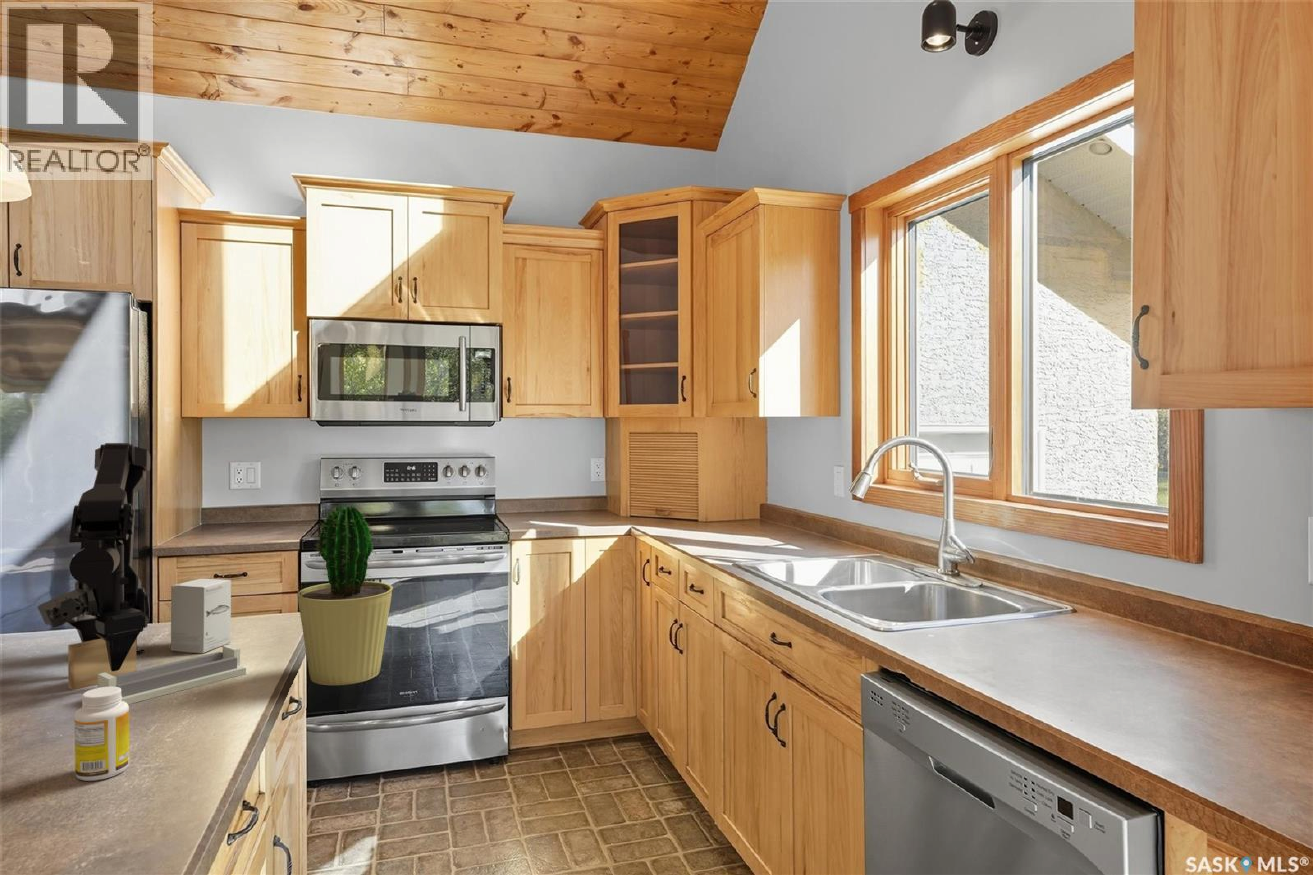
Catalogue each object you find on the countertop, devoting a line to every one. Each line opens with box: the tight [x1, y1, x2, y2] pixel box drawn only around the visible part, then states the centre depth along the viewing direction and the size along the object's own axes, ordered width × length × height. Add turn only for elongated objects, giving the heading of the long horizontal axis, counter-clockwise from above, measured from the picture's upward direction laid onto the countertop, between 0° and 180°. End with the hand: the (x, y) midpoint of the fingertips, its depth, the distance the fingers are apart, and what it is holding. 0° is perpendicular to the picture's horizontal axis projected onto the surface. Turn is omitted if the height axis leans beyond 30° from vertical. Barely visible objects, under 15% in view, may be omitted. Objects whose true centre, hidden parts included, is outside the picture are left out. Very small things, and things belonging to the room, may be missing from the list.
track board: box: [97, 644, 247, 705], centre depth 129 cm, size 8×20×4 cm, turn 146°
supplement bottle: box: [74, 686, 131, 782], centre depth 97 cm, size 6×6×10 cm
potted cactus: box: [297, 503, 394, 686], centre depth 135 cm, size 15×15×30 cm
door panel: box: [67, 639, 137, 691], centre depth 130 cm, size 2×9×7 cm, turn 146°
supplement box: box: [170, 578, 232, 654], centre depth 150 cm, size 7×7×13 cm
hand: (103, 665), depth 130 cm, fingers open, 9 cm apart
